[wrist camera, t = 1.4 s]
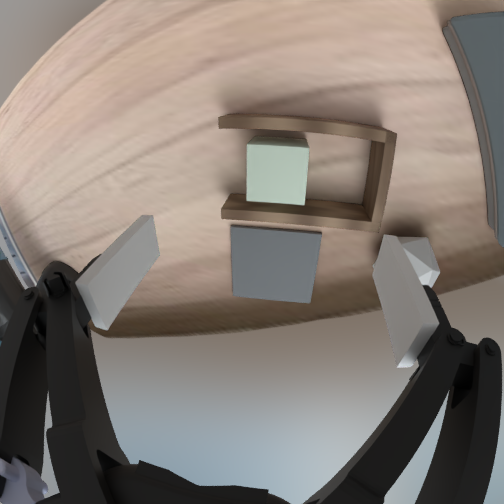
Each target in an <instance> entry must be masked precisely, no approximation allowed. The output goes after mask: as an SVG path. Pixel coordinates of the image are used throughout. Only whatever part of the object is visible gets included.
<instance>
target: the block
mask: <svg viewBox="0 0 504 504" xmlns="http://www.w3.org/2000/svg"><path fill="white" fill-rule="evenodd" d="M308 159H309V146H308V142H307V139H297V138H283V137H264V136H255V137H254V138H253V139H252V140H251V141H250V142H249V143H248V144H247V201H256V202H270V203H284V204H296V205H305V195H306V183H307V171H308Z"/></svg>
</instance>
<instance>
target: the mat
mask: <svg viewBox="0 0 504 504" xmlns="http://www.w3.org/2000/svg"><path fill="white" fill-rule="evenodd" d="M321 237H322V232H311V231H300V230H288V229H276V228H263V227H250V226H237V225H231V256H232V281H233V296H239V297H248V298H257V299H267V300H278V301H289V302H301V303H310V301H311V296H312V290H313V285H314V279H315V274H316V268H317V262H318V256H319V250H320V244H321Z"/></svg>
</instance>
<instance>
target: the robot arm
mask: <svg viewBox="0 0 504 504" xmlns="http://www.w3.org/2000/svg"><path fill="white" fill-rule="evenodd" d="M159 256H160V252H159V247H158V241H157V236H156V230H155V224H154V218H153V215H142V216H141V217H139V218H138V219H137V220H136V221H135V222H134V223H133V224H132V225H131V226H130V227H129V228H128V229H127V230H126V231H125V232H124V233H123V234H121V235H120V236H119V237H118V238H117V239H116V240H115V241H114V242H113V243H112V244H111V245H110V246H109V247H108V248H107V249H106V250H105V251H104V252H103V253H102V254H100V255H98V256H97V257H95V258H93V259H92V260H91V261H90V262H89V263H88V264H87V266H86V267H85V268H84V269H83V271H81V272H80V273H79V274H78V273H77V272H76V271H74V270H73V269H72V268H71V267H69V266H67V265H66V264H64V263H61V262H52V263H50V264H49V265H48V266H47V267H46V268H45V269H44V271H43V272H42V275H41V277H40V279H39V281H38V283H37V286H36V287H31V288H28V289H26V290H25V289H24V287H23V286H22V284H21V282H20V281H19V279H18V277H17V276H16V274H15V272H14V270H13V269H12V267H11V265H10V263H9V261H8V258H7V257H5V255H4V253H3V251H2V250H1V248H0V502H1V503H2V504H290V503H289V502H287V501H285V500H284V499H282V498H280V497H277V496H275V495H272V494H269V493H268V490H267V489H257V488H249V487H242V486H235V485H234V486H233V485H232V486H199V485H196V484H194V483H192V482H190V481H188V480H186V479H184V478H182V477H180V476H178V475H176V474H174V473H173V472H171V471H170V470H167V469H164V468H161V467H158V466H155V465H152V464H149V463H146V462H144V461H141V460H139V463H138V464H130V463H129V461H128V459H127V457H126V455H125V454H124V452H123V451H122V450H121V448H120V446H119V444H118V441H117V438H116V435H115V433H114V430H113V426H112V423H111V420H110V417H109V413H108V410H107V407H106V403H105V399H104V395H103V392H102V387H101V383H100V379H99V374H98V370H97V365H96V360H95V355H94V349H93V344H92V338H91V331H90V327H89V325H88V322H89V321H90V319H92V321H93V323H94V325H95V327H98V328H101V329H104V330H108V328H109V327H110V325H111V324H112V322H113V321H114V319H115V318H116V316H117V315H118V313H119V312H120V310H121V309H122V307H123V306H124V304H125V303H126V302H127V300H128V299H129V297H130V296H131V294H132V293H133V291H134V290H135V289H136V287H137V286H138V284H139V283H140V282H141V280H142V279H143V277H144V276H145V275H146V273H147V272H148V271H149V269H150V268H151V266H152V265H153V264H154V262H155V261H156V260H157V258H158V257H159ZM373 279H374V282H375V285H376V288H377V292H378V295H379V298H380V302H381V305H382V309H383V313H384V316H385V320H386V324H387V328H388V331H389V336H390V339H391V344H392V348H393V353H394V357H395V362H396V367H411V366H412V365H413V364H414V362H415V361H416V359H418V363H419V367H418V368H417V369H416V371H415V372H414V373H413V375H412V376H411V378H410V379H409V380H410V381H409V382H408V384H407V386H406V387H405V389H404V390H403V392H402V394H401V395H400V396H399V398H398V399H397V401H396V402H395V404H394V405H393V407H392V408H391V410H390V411H389V412H388V414H387V415H386V416H385V418H384V419H383V420H382V422H381V423H380V424H379V426H378V427H377V428H376V430H375V431H374V432H373V433H372V435H371V436H370V437H369V438H368V439H367V441H366V442H365V443H364V444H363V446H362V447H361V448H360V449H359V450H358V451H357V453H356V454H355V455H354V456H353V457H352V458H351V459H350V460H349V461H348V462H347V464H346V465H345V466H344V467H343V468H342V469H341V470H340V471H339V472H338V473H337V474H336V475H335V476H334V477H333V478H332V479H331V480H330V481H329V482H328V483H327V484H326V485H325V486H324V487H323V488H321V489H320V490H319V491H317V492H316V493H315V494H314V495H312V496H311V497H310V498H309V499H308V500H307V501H305V502H304V503H303V504H383V503H384V497H385V495H386V493H387V492H388V490H389V489H390V488H391V487H392V485H393V484H394V483H395V481H396V480H397V479H398V477H399V476H400V475H401V473H402V472H403V470H404V469H405V468H406V466H407V465H408V463H409V462H410V460H411V459H412V457H413V456H414V454H415V452H416V451H417V449H418V448H419V446H420V445H421V443H422V441H423V439H424V438H425V436H426V434H427V433H428V431H429V429H430V427H431V425H432V423H433V422H434V420H435V418H436V416H437V414H438V412H439V410H440V408H441V406H442V404H443V402H444V400H445V398H446V396H447V393H448V391H449V395H448V400H447V405H446V410H445V415H444V419H443V423H442V428H441V431H440V435H439V439H438V442H437V446H436V449H435V452H434V455H433V459H432V461H431V464H430V467H429V470H428V473H427V476H426V478H425V481H424V483H423V486H422V488H421V491H420V493H419V495H418V498H417V500H416V502H415V504H483V502H484V499H485V495H486V492H487V489H488V485H489V482H490V478H491V473H492V469H493V464H494V459H495V454H496V448H497V442H498V435H499V427H500V416H501V400H502V360H501V350H500V347H499V346H498V344H497V343H496V342H495V341H494V340H492V339H491V338H483V339H482V341H480V343H479V344H478V345H476V344H472V343H469V342H466V340H465V337H464V336H463V334H462V333H461V332H460V331H458V330H457V329H455V328H451V326H450V323H449V321H448V319H447V316H446V314H445V312H444V310H443V308H442V307H441V304H440V302H439V299H438V297H437V295H436V293H435V292H434V291H433V290H432V289H431V287H430V286H429V285H422V284H421V282H420V280H419V278H418V276H417V274H416V272H415V270H414V268H413V266H412V264H411V262H410V260H409V258H408V256H407V255H406V253H405V251H404V249H403V247H402V245H401V244H400V242H399V240H398V238H397V237H396V236H393V235H385V234H384V236H383V240H382V244H381V247H380V251H379V254H378V258H377V261H376V265H375V268H374V271H373ZM48 391H49V401H50V409H51V416H52V428H49V429H47V432H46V436H47V443H48V448H49V453H50V458H51V462H52V466H53V470H54V474H55V478H56V481H57V485H58V488H59V491H60V493H58V494H55V495H53V496H50V497H48V498H44V495H43V494H46V493H47V492H48V487H47V484H46V483H45V482H44V481H42V479H41V473H42V467H43V454H44V426H45V413H46V403H47V394H48Z"/></svg>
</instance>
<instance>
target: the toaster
mask: <svg viewBox="0 0 504 504" xmlns="http://www.w3.org/2000/svg"><path fill="white" fill-rule="evenodd" d="M447 23H448V26H446V27H444V28H443V33H444V35H445V38H446V40H447V42H448V44H449V46H450V49H451V51H452V53H453V56H454V58H455V61H456V63H457V66H458V68H459V71H460V74H461V77H462V79H463V82H464V85H465V88H466V92H467V95H468V98H469V101H470V105H471V108H472V112H473V116H474V120H475V124H476V129H477V133H478V138H479V143H480V148H481V154H482V160H483V167H484V174H485V183H486V193H487V207H488V224H489V226H490V227H491V228H492V229H493V230H494V233H495V238H496V239H498V242H499V244H500V245H501V246H502V247H504V12H489V13H479V14H471V15H463V16H457V17H453V18H452V19H451V20H449V21H448V22H447Z"/></svg>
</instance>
